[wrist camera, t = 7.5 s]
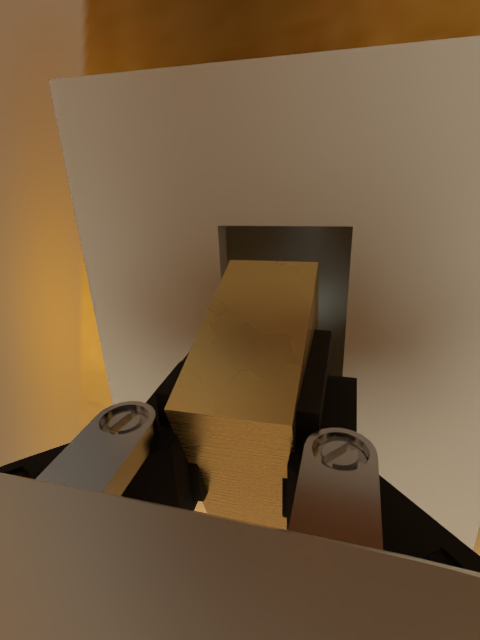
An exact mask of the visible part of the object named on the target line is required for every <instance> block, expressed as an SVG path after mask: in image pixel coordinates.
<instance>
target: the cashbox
mask: <svg viewBox="0 0 480 640" xmlns="http://www.w3.org/2000/svg"><path fill="white" fill-rule="evenodd" d="M48 81H49V86H50V91H51V96H52V101H53V106H54V111H55V116H56V121H57V126H58V131H59V136H60V141H61V146H62V151H63V156H64V162H65V167H66V171H67V177H68V182H69V187H70V192H71V197H72V202H73V207H74V211H75V217H76V222H77V227H78V232H79V237H80V242H81V247H82V252H83V257H84V262H85V267H86V272H87V277H88V282H89V287H90V292H91V297H92V302H93V307H94V312H95V317H96V322H97V327H98V332H99V337H100V342H101V347H102V352H103V358H104V363H105V368H106V373H107V378H108V383H109V388H110V393H111V398H112V403H113V405H114V404H118V403H121V402H127V401H140V402H144V403H146V402H147V400H148V399H149V398H150V397H151V395H152V394H153V393H154V392H155V391H156V389H157V388H158V387H159V386H160V385H161V383H162V382H163V381H164V380H165V379H166V377H167V376H168V375H169V374H170V373H171V371H172V370H173V369H174V368H175V367H176V365H177V364H178V363H179V362H180V361H182V360H183V359H184V358H185V357H186V355H187V354H188V353H189V352H190V349H191V347H192V345H193V343H194V340H195V338H196V336H197V334H198V331H199V329H200V327H201V325H202V322H203V320H204V318H205V316H206V313H207V311H208V309H209V306H210V304H211V302H212V300H213V297H214V295H215V293H216V291H217V288H218V286H219V284H220V282H221V279H222V277H223V275H224V272H225V270H226V268H227V266H228V263H229V261H230V260H254V261H293V262H318V330H328V331H332V342H331V360H330V375H332V376H342V377H352V378H357V433H359V434H362V435H363V436H364V437H366V438H367V439H368V440H370V441H371V442H372V444H373V445H374V446H375V448H376V451H377V454H378V465H379V475H380V476H381V477H383V478H384V479H385V480H386V481H388V482H389V483H390V484H391V485H393V486H394V487H395V488H396V489H397V490H399V491H400V492H401V493H402V494H404V495H405V496H406V497H407V498H409V499H410V500H411V501H412V502H414V503H415V504H416V505H417V506H418V507H420V508H421V509H422V510H423V511H425V512H426V513H427V514H428V515H430V516H431V517H432V518H433V519H435V520H436V521H437V522H438V523H439V524H441V525H442V526H443V527H444V528H446V529H447V530H448V531H449V532H451V533H452V534H453V535H454V536H456V537H457V538H458V539H459V540H460V541H462V542H463V543H464V544H465V545H467V546H468V547H469V548H470V549H472V550H473V548H474V544H475V541H476V537H477V533H478V530H479V526H480V35H479V36H469V37H460V38H450V39H440V40H430V41H420V42H411V43H401V44H391V45H381V46H371V47H362V48H352V49H342V50H332V51H322V52H313V53H303V54H293V55H283V56H273V57H264V58H254V59H244V60H234V61H224V62H214V63H205V64H195V65H185V66H175V67H165V68H156V69H146V70H136V71H126V72H116V73H107V74H97V75H87V76H77V77H67V78H58V79H49V80H48Z"/></svg>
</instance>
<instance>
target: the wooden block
mask: <svg viewBox="0 0 480 640" xmlns="http://www.w3.org/2000/svg"><path fill="white" fill-rule="evenodd" d="M314 330H318V262H293V261H254V260H230V261H229V263H228V266H227V268H226V270H225V272H224V275H223V277H222V279H221V282H220V284H219V286H218V288H217V291H216V293H215V295H214V297H213V300H212V302H211V304H210V306H209V309H208V311H207V313H206V316H205V318H204V320H203V322H202V325H201V327H200V329H199V331H198V334H197V336H196V338H195V340H194V343H193V345H192V347H191V349H190V352H189V354H188V356H187V359H186V361H185V363H184V365H183V368H182V370H181V372H180V374H179V377H178V379H177V381H176V383H175V386H174V388H173V390H172V393H171V395H170V397H169V399H168V402H167V404H166V406H165V408H164V410H165V413H166V415H167V418H168V420H169V422H170V425H171V427H172V430H173V432H174V434H175V436H178V438H179V440H180V443H181V445H182V447H183V450H184V452H185V455H186V457H187V460H188V463H193V464H197V465H198V467H199V470H200V473H201V475H202V478H203V481H204V483H205V486H206V488H207V491H208V494H207V496H206V498H205V500H204V501H202V502H203V504H204V506H205V509H206V511H207V514H212V515H217V516H222V517H226V518H231V519H236V520H241V521H246V522H251V523H255V524H260V525H265V526H270V527H275V528H279V529H284V530H287V518H285V517H282V478H287V464H288V459H289V455H290V453H294V450H295V442H296V408H297V404H298V400H299V395H300V391H301V387H302V382H303V378H304V373H305V369H306V365H307V360H308V356H309V352H310V347H311V343H312V339H313V334H314Z"/></svg>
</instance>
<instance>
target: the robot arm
mask: <svg viewBox="0 0 480 640" xmlns="http://www.w3.org/2000/svg"><path fill="white" fill-rule="evenodd" d="M331 342H332V331H328V330H314V334H313V339H312V343H311V347H310V352H309V356H308V360H307V365H306V369H305V373H304V378H303V382H302V387H301V391H300V395H299V400H298V404H297V408H296V442H295V450H294V453H290V455H289V459H288V464H287V478H282V517H285V518H287V530H284V529H279V528H275V527H270V526H265V525H260V524H255V523H251V522H246V521H241V520H236V519H231V518H226V517H222V516H217V515H212V514H207V513H202V512H197V511H194V509H195V507H196V504H197V502H198V501H204V500H205V498H206V496H207V494H208V491H207V488H206V486H205V483H204V481H203V478H202V475H201V473H200V470H199V467H198V465H197V464H193V463H188V460H187V457H186V455H185V452H184V450H183V447H182V445H181V443H180V440H179V438H178V436H175V434H174V432H173V430H172V427H171V425H170V422H169V420H168V418H167V415H166V413H165V410H164V408H165V406H166V404H167V402H168V399H169V397H170V395H171V393H172V390H173V388H174V386H175V383H176V381H177V379H178V377H179V374H180V372H181V370H182V368H183V365H184V363H185V361H186V359H187V356H188V354H189V353H188V354H187V355H186V357H185V358H184V359H183V360H182V361H180V362H179V363H178V364H177V365H176V367H175V368H174V369H173V370H172V371H171V373H170V374H169V375H168V376H167V377H166V379H165V380H164V381H163V382H162V383H161V385H160V386H159V387H158V388H157V389H156V391H155V392H154V393H153V394H152V395H151V397H150V398H149V399H148V400H147V402H146V403H144V402H140V401H127V402H121V403H118V404H114V405H112V406H110V407H108V408H106V409H104V410H102V411H101V412H100V413H99V414H98V415H96V417H95V418H94V419H93V420H92V421H91V422H90V423H89V424H88V425H87V426H86V427H85V428H84V429H83V430H82V431H81V432H80V433H79V434H78V435H77V436H76V437H75V438H74V439H73V440H72V441H71V442H70V443H68V444H65V445H63V446H60V447H57V448H54V449H51V450H48V451H45V452H42V453H39V454H36V455H33V456H30V457H27V458H24V459H21V460H19V461H16V462H13V463H10V464H7V465H4V466H2V467H0V640H480V556H479V555H478V554H477V553H475V552H474V551H473V550H472V549H470V548H469V547H468V546H467V545H465V544H464V543H463V542H462V541H460V540H459V539H458V538H457V537H456V536H454V535H453V534H452V533H451V532H449V531H448V530H447V529H446V528H444V527H443V526H442V525H441V524H439V523H438V522H437V521H436V520H435V519H433V518H432V517H431V516H430V515H428V514H427V513H426V512H425V511H423V510H422V509H421V508H420V507H418V506H417V505H416V504H415V503H414V502H412V501H411V500H410V499H409V498H407V497H406V496H405V495H404V494H402V493H401V492H400V491H399V490H397V489H396V488H395V487H394V486H393V485H391V484H390V483H389V482H388V481H386V480H385V479H384V478H383V477H381V476H380V475H379V465H378V454H377V451H376V448H375V446H374V445H373V444H372V442H371V441H370V440H368V439H367V438H366V437H364V436H363V435H362V434H359V433H357V378H352V377H342V376H332V375H330V360H331Z"/></svg>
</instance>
